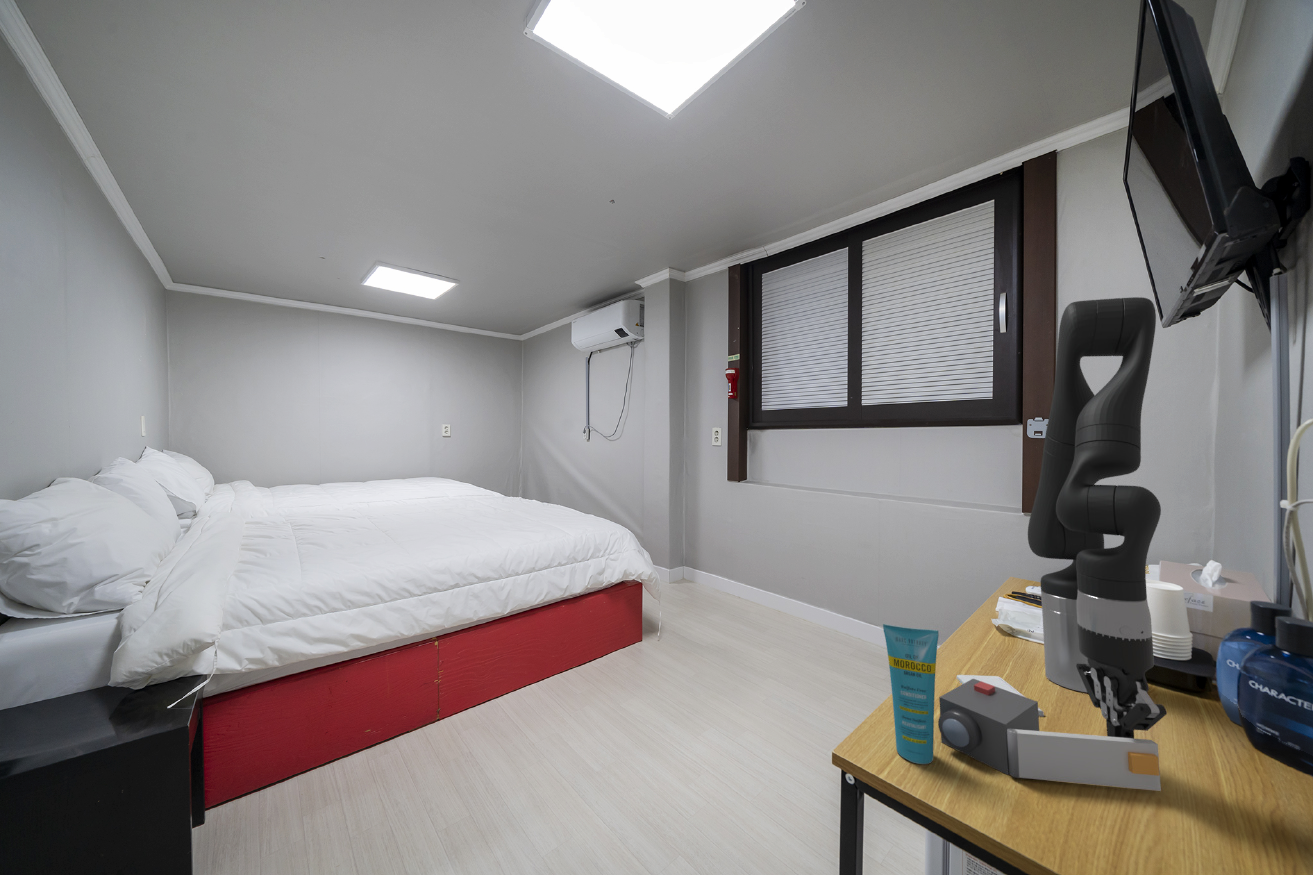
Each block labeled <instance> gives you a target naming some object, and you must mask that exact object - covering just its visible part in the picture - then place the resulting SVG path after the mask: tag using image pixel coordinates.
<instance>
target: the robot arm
mask: <svg viewBox="0 0 1313 875" xmlns="http://www.w3.org/2000/svg"><path fill="white" fill-rule="evenodd" d="M1156 323H1157V314H1156V307H1155V304H1154V302H1153V301H1152V300H1151V299H1149V298H1147V297H1142V296H1141V297H1139V296H1137V297H1118V298H1116V297H1115V298H1104V299H1103V298H1100V299H1088V300H1078V301H1073V302H1070V303H1069V304H1068V305H1067V306H1066V307H1065V308H1064V310H1063V313H1062V315H1061V318H1060V323H1059V331H1058V339H1057V348H1056V350H1057V352H1056V365H1055V375H1054V378H1055V379H1054V386H1053V393H1052V399H1051V400H1052V401H1051V406H1050V411H1049V416H1048V420H1047V426H1046V429H1045V430H1046V431H1045V438H1044V442H1043V443H1044V444H1043V452H1042V458H1041V459H1042V460H1041V466H1040V467H1041V468H1040V474H1039V482H1038V487H1037V491H1036V494H1035V497H1034V503H1033V505H1032V509H1031V513H1030V516H1029V521H1028V525H1027V526H1028V527H1027V540H1028V546H1029V548H1030V551H1032V553H1033V554H1034V555H1036V556H1037V557H1040V558H1045V559H1053V560H1055V559H1056V560H1072V563H1071V564H1070V565H1068V566H1067V567H1065V568H1063V569H1061V570H1058V571H1057V570H1056V571H1055V572H1050V573H1046V574H1044V575H1043V576H1041V578H1040V594H1041V595H1040V597H1041V598H1040V599H1041V612H1042V616H1041V617H1042V630H1043V633H1042V634H1043V650H1044V652H1043V653H1044V667H1045V668H1044V669H1045V677H1046V678H1047V679H1048V680H1049V681H1050V682H1053V683H1054V684H1057V685H1059V686H1061V687H1064V688H1066V689H1070V690H1073V691H1077V692H1082V693H1087V694H1088V696H1089V698H1090V701H1091V703H1092V706H1093V707H1094V708H1097V709H1100V711H1101V715H1102V717H1103V718H1104V720H1105V722H1106V723H1105V724H1106V736H1109V737H1121V738H1134V739H1135V731H1149V730H1150V729H1151V728H1152V727H1153V726H1155V725H1156V724H1157V723H1158V722H1159V721H1160V720H1162V719H1163V718H1164V717H1165V716H1166V715H1167V709H1166V707H1165V706H1164V704H1161V703H1160V704H1159V703H1155V702H1154V701H1153V699H1152V698H1151V696H1150V695H1149V694H1148V692H1149V690H1150V686H1149V683H1148V681H1147V678H1146V675H1145V674H1146V672H1147V671H1149V670H1150V669H1152V668H1153V667H1154V665H1155V658H1154V645H1153V644H1154V643H1153V628H1152V626H1153V625H1152V616H1151V610H1150V608H1149V603H1148V594H1147V592H1148V591H1147V580H1146V579H1147V578H1146V576H1147V575H1146V573H1147V572H1146V565H1147V559H1148V553H1149V549H1150V546H1151V542H1152V540H1153V538H1154V536H1155V535H1154V534H1155V532H1156V529H1157V527H1158V524H1159V522H1160V518H1161V514H1162V507H1161V504H1160V501H1159V499H1158V498H1157V496H1156V495H1155V494H1154V493H1153V492H1152V491H1151V490H1149V489H1147V488H1146V487H1144V486H1141V485H1139V486H1138V485H1125V484H1124V485H1123V484H1122V485H1119V484H1118V485H1114V484H1097V483H1098V482H1099V481H1101V480H1105V479H1108V478H1114V477H1120V476H1126V475H1130V474H1131V473H1132V474H1133V473H1134V472H1137V470H1138V469H1139V468H1140V466H1141V462H1142V460H1141V459H1142V456H1141V454H1142V451H1141V450H1142V448H1141V447H1142V445H1141V444H1142V432H1141V431H1142V426H1141V423H1142V420H1141V419H1142V409H1143V403H1144V397H1145V392H1146V388H1147V382H1148V379H1149V371H1150V366H1151V359H1152V353H1153V348H1154V342H1155V341H1154V340H1155V335H1156V333H1155V332H1156V326H1157V325H1156ZM1084 357H1122V359H1121V363H1120V366H1119V367H1118V369H1117V371H1116V372H1115V374H1114V375H1113V376H1112V377H1111V379H1110V380H1109V381H1108V382H1107V383H1106V384H1104V386H1103V387H1102V388H1101V389H1100V390H1099V391H1098V392H1096V394H1095V393H1094V392H1093V391H1092V389H1091V387H1090V386H1089V384H1088V381H1087V380H1086V378H1085V376H1084V373H1083V370H1082V367H1081V359H1082V358H1084ZM1104 535H1107V536H1109V535H1110V536H1121V537H1124V539H1123V541H1122V543H1121V544H1120V545H1118V546H1116V547H1115V546H1114V547H1106V548H1105V536H1104Z"/></svg>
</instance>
